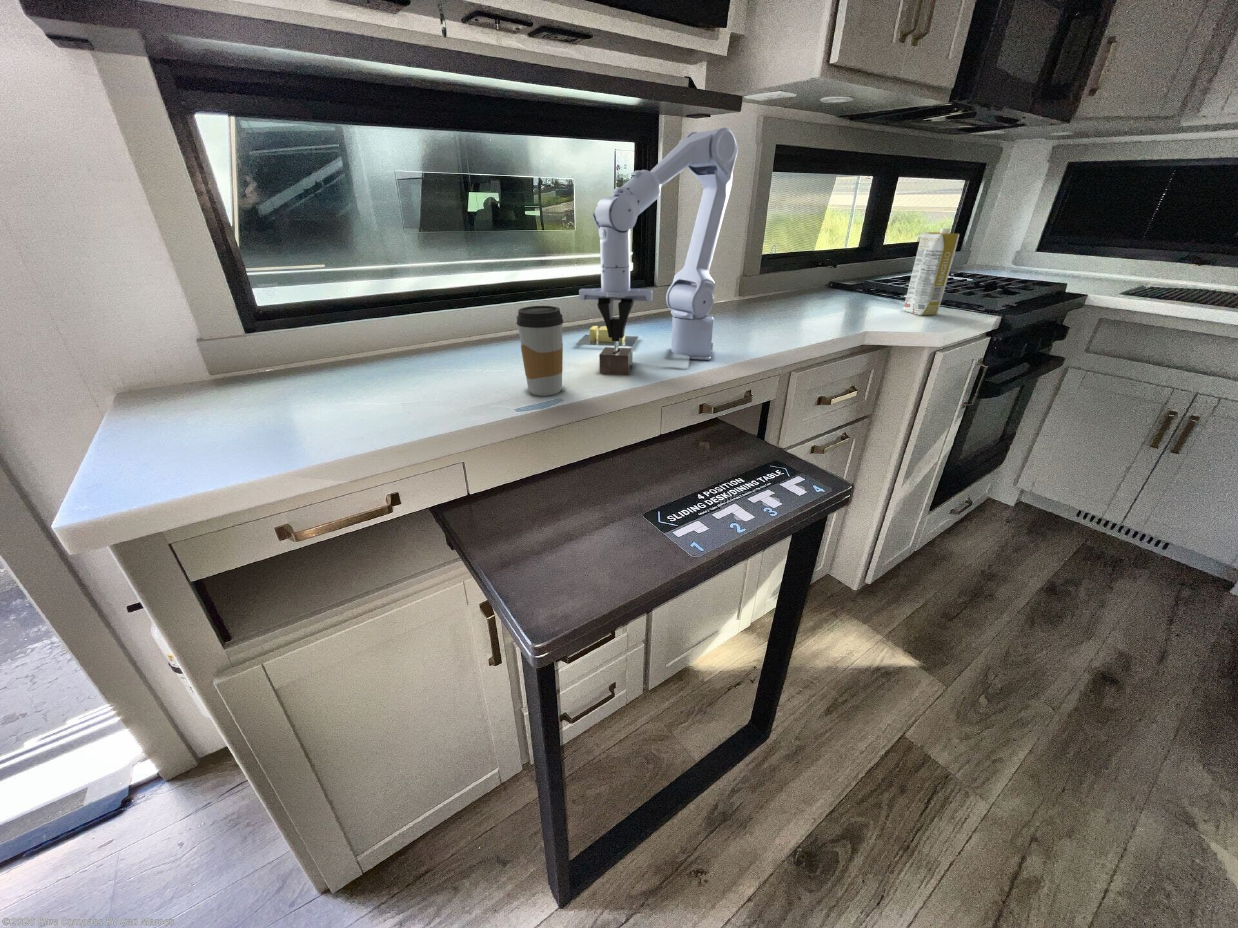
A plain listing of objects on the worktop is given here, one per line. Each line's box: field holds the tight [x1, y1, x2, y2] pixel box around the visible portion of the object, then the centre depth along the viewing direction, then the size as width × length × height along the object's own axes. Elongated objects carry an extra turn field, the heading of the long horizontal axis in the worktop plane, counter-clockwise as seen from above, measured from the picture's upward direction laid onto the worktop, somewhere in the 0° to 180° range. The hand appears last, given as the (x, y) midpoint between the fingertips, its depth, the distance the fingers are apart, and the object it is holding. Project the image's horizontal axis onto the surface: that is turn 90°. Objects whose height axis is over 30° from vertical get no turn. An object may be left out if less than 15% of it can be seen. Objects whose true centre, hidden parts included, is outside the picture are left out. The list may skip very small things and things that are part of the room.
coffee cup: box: [516, 305, 564, 397], centre depth 93 cm, size 8×8×15 cm
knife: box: [611, 316, 621, 354], centre depth 105 cm, size 2×3×9 cm, turn 170°
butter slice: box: [588, 325, 599, 342], centre depth 126 cm, size 1×4×3 cm, turn 170°
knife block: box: [598, 346, 634, 376], centre depth 107 cm, size 6×6×4 cm
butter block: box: [598, 325, 626, 343], centre depth 125 cm, size 6×4×3 cm, turn 80°
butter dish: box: [576, 334, 639, 348], centre depth 127 cm, size 14×10×1 cm
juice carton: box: [902, 227, 960, 316], centre depth 153 cm, size 9×8×24 cm
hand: (616, 336), depth 104 cm, fingers closed on knife, 2 cm apart
